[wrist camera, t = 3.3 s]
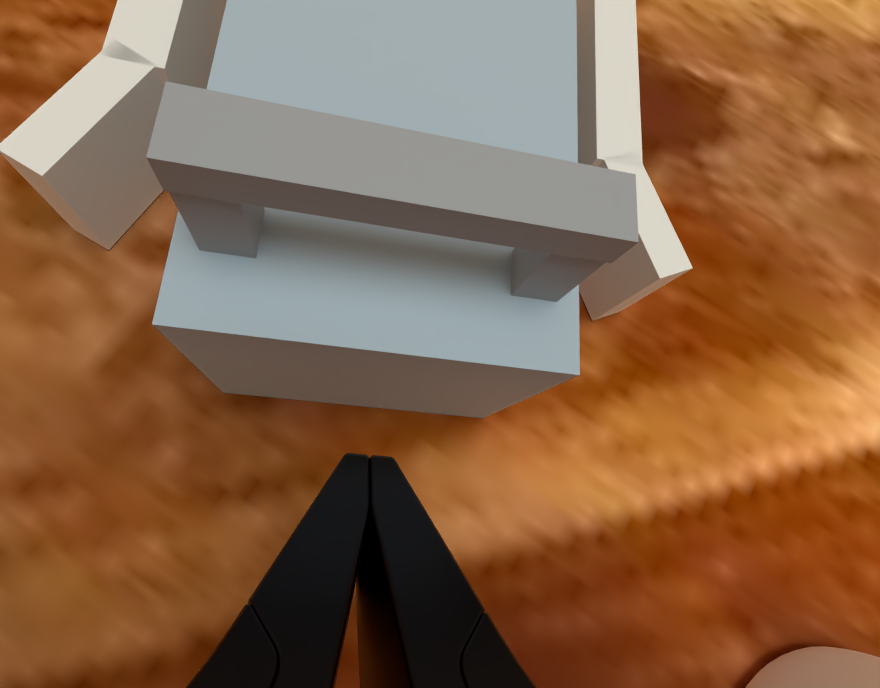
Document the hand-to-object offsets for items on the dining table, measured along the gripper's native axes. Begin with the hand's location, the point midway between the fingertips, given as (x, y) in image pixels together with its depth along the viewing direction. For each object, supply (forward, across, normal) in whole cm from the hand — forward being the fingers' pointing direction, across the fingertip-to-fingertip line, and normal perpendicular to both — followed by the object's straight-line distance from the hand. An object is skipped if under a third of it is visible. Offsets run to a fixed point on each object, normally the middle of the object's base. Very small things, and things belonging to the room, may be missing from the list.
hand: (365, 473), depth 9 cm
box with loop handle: (+12, 0, -2) cm, 12 cm away
